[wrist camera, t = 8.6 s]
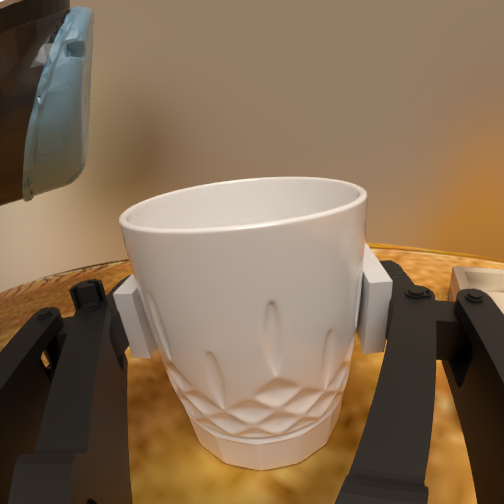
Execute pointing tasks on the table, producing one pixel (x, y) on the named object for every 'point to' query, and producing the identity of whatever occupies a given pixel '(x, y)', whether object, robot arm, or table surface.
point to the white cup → (253, 307)
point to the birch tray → (478, 282)
